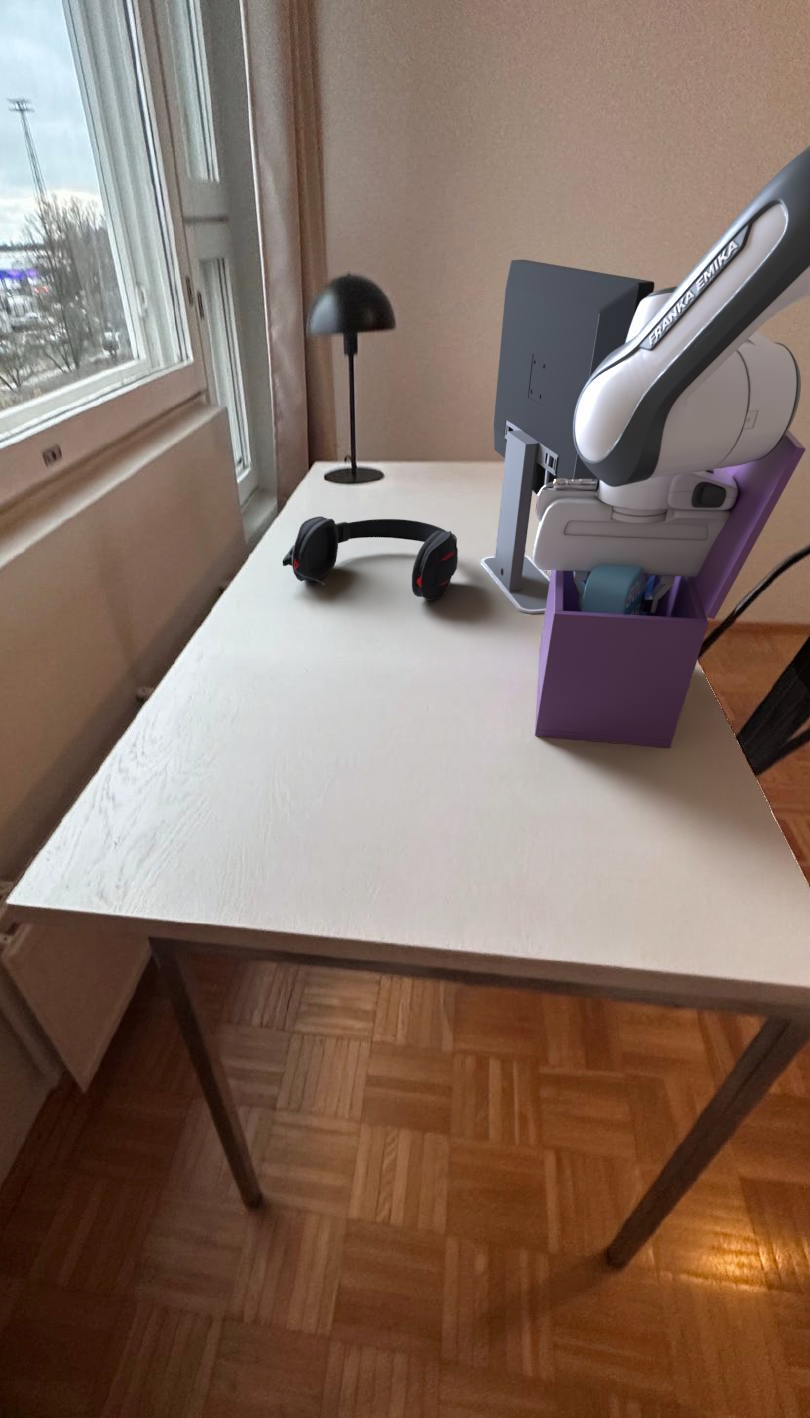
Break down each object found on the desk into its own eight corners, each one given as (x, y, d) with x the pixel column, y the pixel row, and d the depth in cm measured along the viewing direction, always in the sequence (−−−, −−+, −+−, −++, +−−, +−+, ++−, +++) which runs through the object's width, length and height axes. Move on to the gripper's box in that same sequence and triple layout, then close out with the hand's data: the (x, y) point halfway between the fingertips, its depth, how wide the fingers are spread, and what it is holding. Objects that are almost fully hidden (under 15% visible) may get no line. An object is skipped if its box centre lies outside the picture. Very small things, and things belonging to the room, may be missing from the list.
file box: (534, 735, 85) (554, 613, 75) (539, 648, 101) (556, 538, 91) (670, 748, 82) (708, 622, 72) (653, 656, 98) (683, 543, 88)
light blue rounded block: (606, 685, 83) (629, 582, 76) (568, 675, 85) (586, 574, 78) (639, 643, 91) (663, 545, 83) (603, 635, 93) (623, 539, 85)
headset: (284, 620, 111) (279, 562, 105) (286, 555, 131) (282, 504, 125) (470, 610, 111) (474, 552, 105) (443, 546, 131) (446, 495, 125)
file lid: (796, 446, 61) (806, 449, 61) (749, 392, 77) (756, 394, 77) (706, 617, 72) (714, 619, 72) (680, 539, 88) (687, 540, 88)
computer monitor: (601, 635, 103) (675, 280, 77) (543, 642, 102) (598, 285, 76) (507, 536, 134) (537, 258, 107) (462, 540, 133) (481, 261, 107)
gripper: (538, 486, 75) (522, 615, 84) (756, 492, 71) (714, 626, 80) (540, 469, 79) (524, 592, 88) (744, 473, 75) (706, 602, 84)
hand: (616, 609), depth 84 cm, fingers closed on light blue rounded block, 5 cm apart
